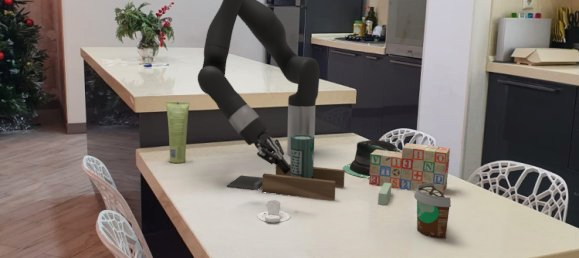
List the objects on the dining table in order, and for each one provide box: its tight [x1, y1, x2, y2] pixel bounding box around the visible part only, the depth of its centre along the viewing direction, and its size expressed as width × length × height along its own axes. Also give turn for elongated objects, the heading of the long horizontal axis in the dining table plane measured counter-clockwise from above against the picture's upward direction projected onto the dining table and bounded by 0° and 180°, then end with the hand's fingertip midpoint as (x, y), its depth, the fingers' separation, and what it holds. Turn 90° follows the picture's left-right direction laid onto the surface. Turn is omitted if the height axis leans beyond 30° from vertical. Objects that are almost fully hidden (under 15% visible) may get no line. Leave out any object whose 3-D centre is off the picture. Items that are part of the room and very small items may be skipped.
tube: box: [165, 100, 190, 164], centre depth 193 cm, size 6×5×20 cm
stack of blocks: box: [368, 142, 451, 195], centre depth 172 cm, size 21×6×12 cm, turn 66°
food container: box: [413, 182, 452, 240], centre depth 139 cm, size 12×6×10 cm, turn 5°
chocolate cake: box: [342, 139, 398, 179], centre depth 190 cm, size 15×19×20 cm
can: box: [289, 135, 315, 179], centre depth 167 cm, size 6×6×15 cm
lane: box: [261, 163, 346, 202], centre depth 168 cm, size 13×20×5 cm, turn 73°
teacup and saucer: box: [257, 199, 291, 223], centre depth 146 cm, size 9×8×4 cm
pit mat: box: [225, 174, 262, 191], centre depth 173 cm, size 11×9×2 cm
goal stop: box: [377, 183, 392, 206], centre depth 162 cm, size 10×2×3 cm, turn 163°
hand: (288, 171), depth 168 cm, fingers closed
